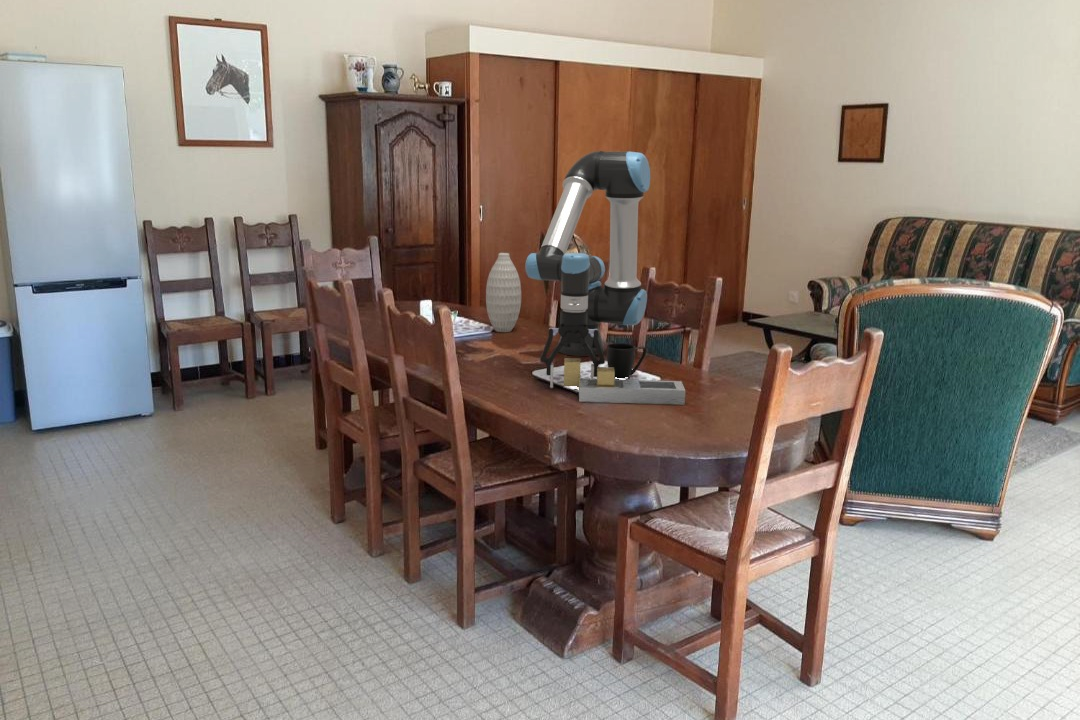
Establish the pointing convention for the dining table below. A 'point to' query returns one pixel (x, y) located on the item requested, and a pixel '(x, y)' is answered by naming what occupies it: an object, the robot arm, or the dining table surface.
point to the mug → (623, 358)
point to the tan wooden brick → (605, 376)
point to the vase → (503, 294)
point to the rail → (633, 392)
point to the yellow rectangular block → (572, 371)
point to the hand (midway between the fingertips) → (571, 387)
